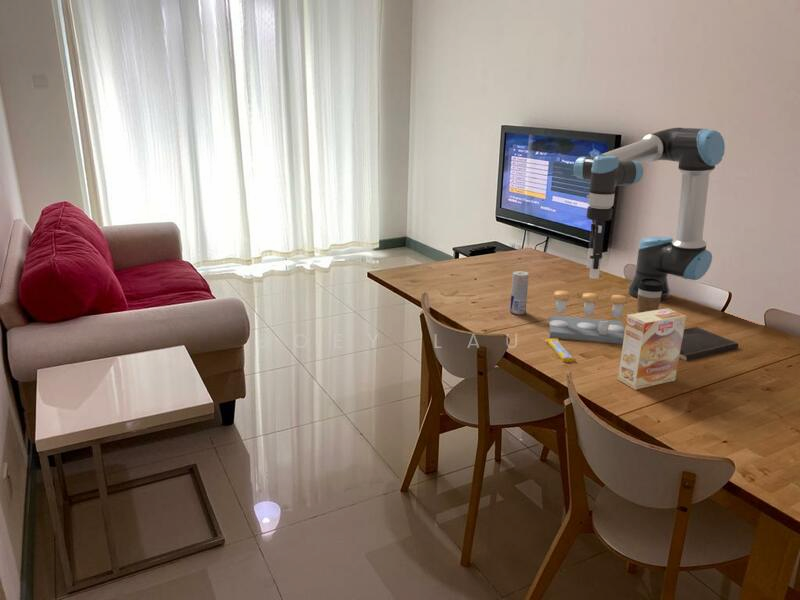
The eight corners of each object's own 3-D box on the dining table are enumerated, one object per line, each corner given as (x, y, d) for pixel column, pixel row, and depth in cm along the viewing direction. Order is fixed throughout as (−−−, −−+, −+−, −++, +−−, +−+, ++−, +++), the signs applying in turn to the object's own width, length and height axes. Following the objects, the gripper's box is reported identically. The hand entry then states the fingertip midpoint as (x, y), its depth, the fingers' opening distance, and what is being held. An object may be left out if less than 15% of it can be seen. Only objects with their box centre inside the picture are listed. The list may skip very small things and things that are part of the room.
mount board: (621, 326, 211) (622, 320, 210) (627, 344, 196) (628, 337, 195) (548, 320, 215) (549, 314, 215) (549, 337, 201) (549, 331, 200)
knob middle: (595, 312, 205) (597, 293, 203) (596, 317, 201) (599, 297, 199) (580, 310, 206) (582, 292, 204) (580, 315, 202) (583, 296, 200)
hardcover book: (644, 343, 198) (645, 337, 197) (694, 333, 207) (696, 326, 207) (686, 362, 184) (687, 355, 183) (737, 350, 194) (739, 343, 193)
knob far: (567, 309, 207) (569, 291, 205) (568, 314, 202) (570, 295, 200) (552, 308, 208) (554, 290, 206) (552, 313, 203) (554, 294, 201)
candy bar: (577, 364, 182) (577, 358, 181) (563, 364, 182) (563, 359, 181) (557, 342, 198) (557, 336, 197) (544, 342, 197) (545, 337, 197)
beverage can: (528, 312, 223) (532, 272, 218) (520, 316, 219) (523, 275, 214) (515, 308, 227) (518, 269, 222) (507, 312, 223) (509, 272, 218)
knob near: (623, 314, 204) (626, 295, 201) (625, 319, 199) (628, 300, 197) (608, 313, 205) (610, 294, 202) (609, 318, 200) (612, 298, 198)
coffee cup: (658, 319, 217) (665, 279, 212) (657, 327, 210) (664, 285, 205) (633, 316, 221) (639, 276, 216) (631, 323, 213) (637, 282, 208)
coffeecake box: (635, 390, 165) (645, 322, 159) (616, 379, 172) (625, 313, 165) (676, 381, 171) (687, 315, 165) (657, 370, 177) (667, 307, 171)
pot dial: (604, 332, 200) (606, 319, 199) (609, 335, 197) (611, 322, 196) (595, 332, 200) (597, 319, 198) (600, 335, 197) (602, 323, 195)
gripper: (585, 199, 204) (578, 262, 211) (590, 212, 182) (582, 282, 189) (608, 200, 203) (601, 264, 210) (617, 214, 180) (608, 284, 187)
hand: (592, 273), depth 199 cm, fingers open, 12 cm apart
